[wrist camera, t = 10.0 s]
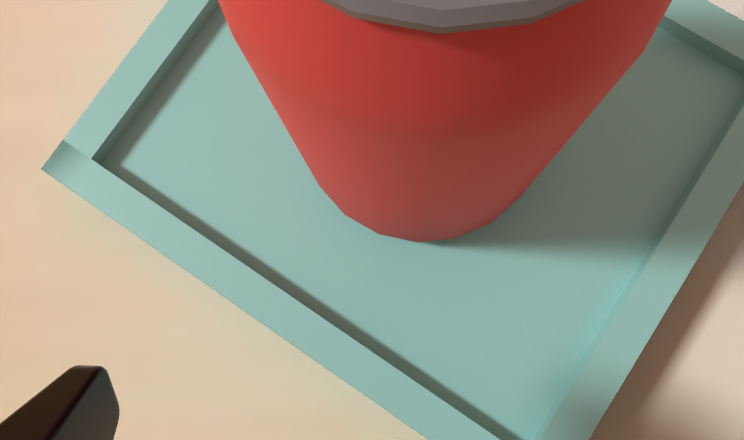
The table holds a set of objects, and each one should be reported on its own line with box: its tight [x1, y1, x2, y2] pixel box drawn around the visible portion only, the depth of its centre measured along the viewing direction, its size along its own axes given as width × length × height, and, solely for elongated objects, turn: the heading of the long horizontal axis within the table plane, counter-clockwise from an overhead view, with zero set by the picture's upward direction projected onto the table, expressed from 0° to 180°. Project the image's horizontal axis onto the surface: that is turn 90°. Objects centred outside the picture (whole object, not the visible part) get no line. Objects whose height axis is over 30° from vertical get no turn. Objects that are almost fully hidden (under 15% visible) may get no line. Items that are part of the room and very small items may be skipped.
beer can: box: [218, 0, 672, 242], centre depth 13 cm, size 7×7×12 cm
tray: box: [42, 0, 744, 440], centre depth 19 cm, size 16×14×1 cm
